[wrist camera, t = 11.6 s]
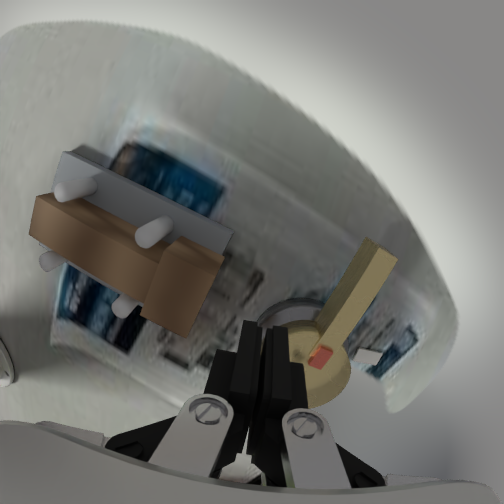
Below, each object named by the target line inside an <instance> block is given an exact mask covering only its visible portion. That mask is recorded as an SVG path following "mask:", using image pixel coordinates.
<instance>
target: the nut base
mask: <svg viewBox="0 0 504 504" xmlns="http://www.w3.org/2000/svg"><path fill="white" fill-rule="evenodd" d="M324 305H325V303H323V302H320V301H318V300H314V299H310V298H292V299H288V300H284V301H281V302H279V303H277V304H275V305H273V306H272V307H270V308H269V309H267V310H266V311H265V312H264V313H263V314H262V315H261V316H260V318H259V319H258V320H257V322H258V325H257V326H259V327H263V331H262V340H263V339H264V337H265V334H266V330H267V328H271V329H272V327H273V325H275V326H280V325H282V324H285V323H288V322H291V321H296V320H313V321H314V320H315V319H316V317H317V316H318V314H319V313H320V311H321V310H322V308H323V307H324ZM343 344H344V347H345V349H346V352H347V354H348V348H349V343H348V337H347V338H346V340H345V341H344V342H343ZM382 355H383V353H382V352H380V351H375V350H371V349H366V348H362V347H358V349H357V351H356V353H355V354H354V356H353V358H352V360H353V361H356V362H361V363H366V364H371V365H377V363H378V361H379V360H380V358H381V356H382Z"/></svg>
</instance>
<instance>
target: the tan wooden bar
mask: <svg viewBox="0 0 504 504" xmlns="http://www.w3.org/2000/svg"><path fill="white" fill-rule="evenodd" d="M137 229H138V227H136V226H134V225H132V224H130V223H128V222H126V221H124V220H122V219H121V218H119V217H117V216H115V215H113V214H111V213H109V212H107V211H105V210H103V209H102V208H100V207H98V206H96V205H94V204H92V203H90V202H88V201H87V200H85V199H83V198H77V199H73V200H69V201H65V202H59V201H57V199H56V198H55V195H54V192H52V193H48V194H43V195H39V196H36V200H35V205H34V209H33V214H32V219H31V224H30V230H29V235H30V236H32V237H33V238H35V239H36V240H38V241H39V242H41V243H42V244H44V245H45V246H47V247H48V248H50V249H51V250H53V251H55V252H56V253H58V254H59V255H61V256H62V257H64V258H66V259H67V260H69V261H70V262H72V263H74V264H75V265H77V266H78V267H80V268H82V269H83V270H85V271H87V272H88V273H90V274H92V275H93V276H95V277H97V278H99V279H100V280H102V281H104V282H105V283H107V284H109V285H111V286H112V287H114V288H116V289H118V290H119V291H121V292H123V293H125V294H127V295H128V296H130V297H132V298H134V299H136V300H138V301H139V302H141V303H143V304H144V305H143V308H142V310H141V313H140V315H141V316H143V317H145V318H146V319H148V320H150V321H152V322H154V323H156V324H158V325H160V326H162V327H164V328H166V329H168V330H170V331H172V332H174V333H176V334H178V335H180V336H182V337H184V338H187V336H188V334H189V332H190V329H191V327H192V325H193V323H194V321H195V319H196V317H197V315H198V313H199V311H200V308H201V306H202V304H203V302H204V300H205V298H206V296H207V294H208V292H209V290H210V288H211V286H212V284H213V281H214V279H215V277H216V275H217V273H218V271H219V269H220V267H221V265H222V262H223V260H224V258H225V257H224V256H222V255H220V254H218V253H216V252H214V251H212V250H210V249H208V248H206V247H204V246H202V245H200V244H197V243H195V242H193V241H191V240H189V239H187V238H185V237H183V236H180V237H179V238H178V239H177V240H176V241H174V242H173V243H172V244H169V243H167V242H165V241H163V240H159V241H158V242H157V243H155V244H154V245H153V246H151V247H150V248H142V247H140V246H139V245H138V244H137V243H136V240H135V233H136V231H137Z"/></svg>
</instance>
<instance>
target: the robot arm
mask: <svg viewBox="0 0 504 504" xmlns="http://www.w3.org/2000/svg"><path fill="white" fill-rule="evenodd" d="M257 325H258V322H252V321H246V320H244V321H243V326H242V331H241V336H240V341H239V346H238V351H237V353H235V352H229V351H224V350H219V349H217V351H216V354H215V357H214V360H213V364H212V367H211V370H210V373H209V377H208V380H207V383H206V387H205V390H204V393H203V394H199V395H195V396H193V397H191V398H189V399H188V400H187V401H186V402H185V404H184V405H183V407H182V408H181V410H180V412H179V413H178V415H177V416H174V417H171V418H169V419H166V420H163V421H160V422H157V423H154V424H150V425H147V426H144V427H141V428H138V429H134V430H131V431H128V432H124V433H121V434H118V435H115V436H113V437H112V438H109V437H104V434H103V433H99V432H93V431H88V430H84V429H79V428H74V427H70V426H66V425H62V424H58V423H54V422H50V421H41V422H37V423H36V424H34V423H27V422H21V421H0V504H502V502H501V500H500V499H499V497H498V495H497V494H496V493H495V492H494V491H493V490H492V489H491V488H490V487H489V486H487V485H485V484H482V483H478V482H474V481H466V480H441V479H438V478H434V477H415V476H403V475H393V474H387V476H386V477H384V476H382V475H381V474H380V473H379V472H377V471H376V470H375V469H373V468H372V467H370V466H369V465H367V464H366V463H364V462H363V461H361V460H360V459H358V458H357V457H355V456H354V455H352V454H351V453H350V452H348V451H347V450H345V449H344V448H342V447H341V446H339V445H338V444H337V443H335V440H334V437H333V435H332V432H331V429H330V427H329V424H328V422H327V420H326V419H325V418H324V417H323V416H322V415H321V414H319V413H318V412H316V411H313V410H310V409H308V399H307V390H306V381H305V372H304V365H303V363H297V362H290V355H289V338H288V328H287V327H281V326H275V325H273V327H272V329H271V328H267V330H266V334H265V339H264V343H263V347H262V352H261V343H262V331H263V327H259V326H257ZM13 380H14V370H13V365H12V362H11V359H10V357H9V354H8V352H7V350H6V348H5V346H4V344H3V343H2V341H1V339H0V386H1V387H8V386H9V385H10V384H11V383H12V382H13ZM248 428H249V433H248V442H247V451H246V454H248V455H252V460H251V463H252V464H255V465H256V466H257V467H258V468H259V469H260V470H261V471H262V473H261V481H262V485H253V484H245V483H238V482H232V481H225V480H220V479H219V477H220V474H221V472H222V468H223V467H225V466H227V465H229V464H230V463H232V462H234V461H235V458H236V454H237V453H242V450H243V446H244V443H245V439H246V436H247V432H248Z"/></svg>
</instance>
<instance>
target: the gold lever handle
mask: <svg viewBox="0 0 504 504" xmlns="http://www.w3.org/2000/svg"><path fill="white" fill-rule="evenodd" d="M397 261H398V259H397V258H396V257H395V256H394V255H393V254H391V253H390V252H389V251H388V250H386V249H385V248H384V247H382V246H381V245H379V244H377V243H376V242H374V241H372V240H371V239H369V238H367V237H365V239H364V241H363V243H362V244H361V246H360V248H359V250H358V251H357V253H356V255H355V256H354V258H353V260H352V262H351V263H350V265H349V267H348V268H347V270H346V272H345V273H344V275H343V276H342V278H341V280H340V281H339V283H338V285H337V286H336V288H335V289H334V291H333V293H332V294H331V296H330V297H329V299H328V300H327V302H326V304H325V305H324V307H323V308H322V310H321V311H320V313H319V314H318V316H317V317H316V319H315V320H314V321H313V320H296V321H291V322H288V323H285V324H282V325H280V326H281V327H287V328H288V338H289V355H290V362H297V363H303V365H304V372H305V381H306V390H307V399H308V409H310V408H315V407H318V406H321V405H323V404H325V403H327V402H329V401H331V400H332V399H334V398H335V397H336V396H337V395H339V393H341V392H342V390H343V389H344V388H345V386H346V384H347V383H348V381H349V378H350V374H351V365H350V361H349V358H348V355H347V352H346V349H345V347H344V344H343V342H344V341H345V340H346V338H347V337H348V336H349V334H350V333H351V331H352V330H353V329H354V327H355V326H356V324H357V323H358V321H359V320H360V318H361V317H362V316H363V314H364V313H365V311H366V310H367V308H368V307H369V305H370V304H371V302H372V301H373V299H374V298H375V296H376V294H377V293H378V291H379V290H380V288H381V287H382V285H383V283H384V282H385V280H386V279H387V277H388V275H389V274H390V272H391V271H392V269H393V267H394V266H395V264H396V262H397ZM264 339H265V337H264ZM264 339H263V340H262V343H261V352H262V347H263V343H264Z"/></svg>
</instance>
